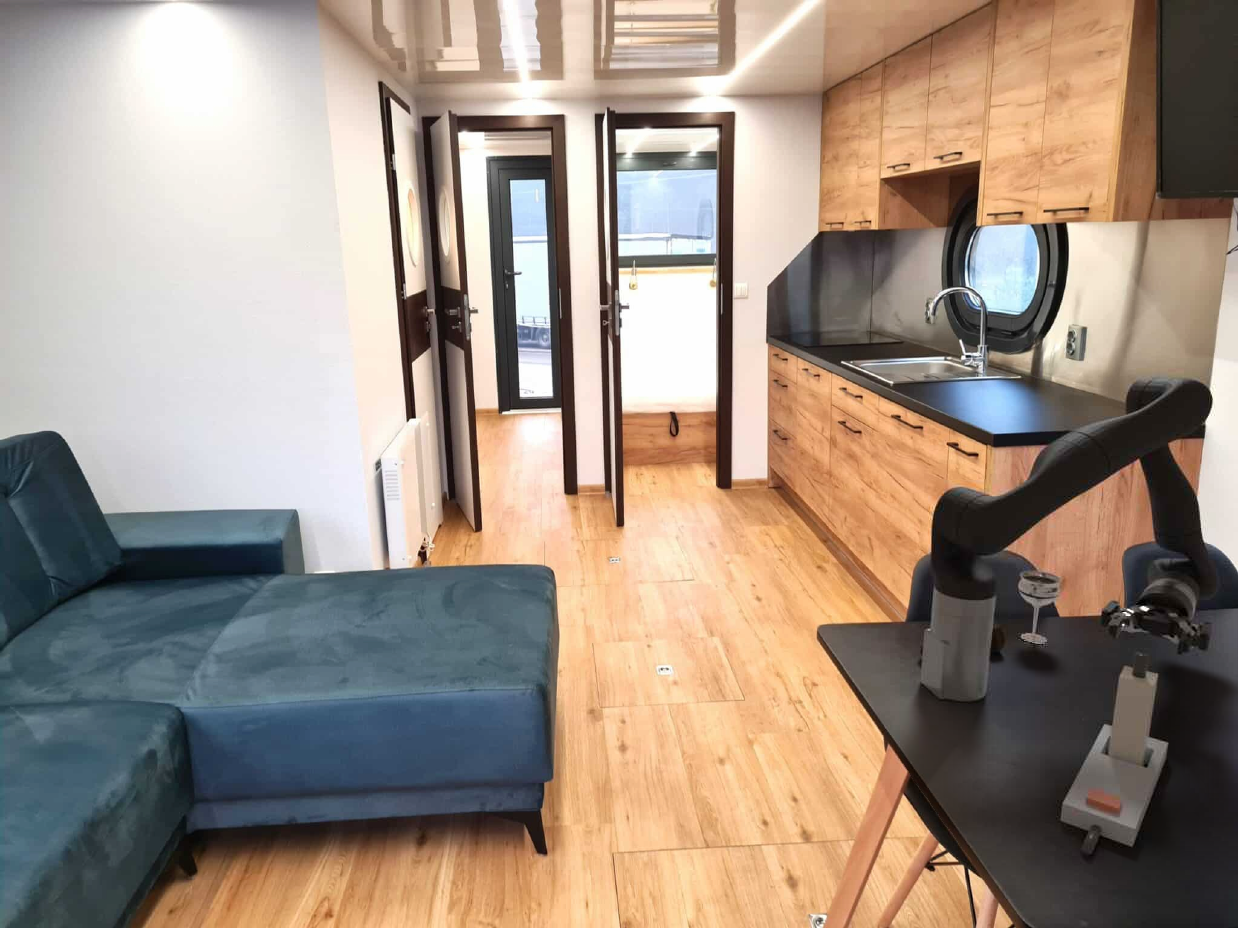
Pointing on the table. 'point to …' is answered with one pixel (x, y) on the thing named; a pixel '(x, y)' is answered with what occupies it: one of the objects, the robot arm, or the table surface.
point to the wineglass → (1038, 596)
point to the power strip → (1112, 792)
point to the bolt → (996, 639)
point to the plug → (1133, 712)
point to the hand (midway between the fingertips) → (1146, 639)
